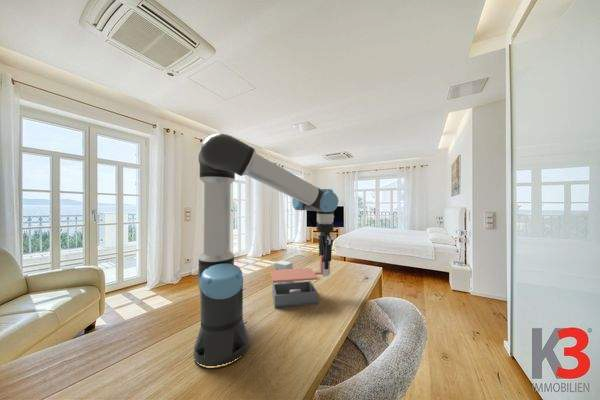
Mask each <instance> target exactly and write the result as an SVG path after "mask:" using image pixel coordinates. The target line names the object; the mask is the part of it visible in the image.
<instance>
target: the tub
mask: <svg viewBox="0 0 600 400" xmlns="http://www.w3.org/2000/svg"><path fill="white" fill-rule="evenodd" d="M272 299H273V307H274V309H278V308H279V309H280V308H289V307H298V306H309V305H316V304H317V305H318V290H317V289H316V287H315V285H314V284H313V283H312V280H304V281H293V282H291V283H281V284H280V283H272Z"/></svg>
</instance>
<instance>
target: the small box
mask: <svg viewBox="0 0 600 400" xmlns="http://www.w3.org/2000/svg"><path fill="white" fill-rule="evenodd" d="M282 269H294V268H293V262H291V261H285V260H278V261H276V262H274V270H282ZM293 282H294V281H289V282H275V284H281V283H293Z"/></svg>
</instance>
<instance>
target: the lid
mask: <svg viewBox="0 0 600 400" xmlns="http://www.w3.org/2000/svg"><path fill="white" fill-rule="evenodd" d="M322 260H324V257H323V255H320V256H319V271H313V269H312V268H311V267H304V268H303V267H302V268H301V267H299V268H293V269H282V270H275V269H271V270H270V274H271V281H272V284H275V283H276V282H289V281H293V282H305V281H317V280H319V277H318V275H321V276H323V262H322ZM330 268H331V261H329V275H330V274H331V269H330Z"/></svg>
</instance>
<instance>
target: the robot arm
mask: <svg viewBox="0 0 600 400" xmlns="http://www.w3.org/2000/svg"><path fill="white" fill-rule="evenodd" d="M198 164H199V179H200V181H201V182H202V183H203V184H204V185H203V188H204V189H203V190H204V191H203V193H204V194H203V200H204V201H203V253H202V254H201V255H200V256H199V257H198V270H197V271H198V272H197V276H196V277H197V278H196V279H197V283H198V288H199V297H200V298H199V300H200V328H199V330H198V333H197V337H196V339H195V343H194V347H193V360H194V359H195V360H194V362H195V361H196V362H198V363H199V364H202V365H205V366H217V365H222V364H226V363H229V362H232V361H234V360H235V359H237V358H239V357H240V356H242V355H243V354H244V353H245V352H246V353H247V351H248V349H249V345H250V344H249V343H250V339H249V337H250V336H249V333H248V330H247V327H246V324H245V321H244V318H243V317H244V315H243V314H244V312H243V311H244V309H243V308H244V307H243V306H244V293H243V292H244V289H243V288H244V287H243V286H244V285H243V284H244V276H243V271H242V269H241V268H240V267H239V266H237V265H235V254H234V253H233V252H232V251H231V250H230V248H231V247H230V245H231V243H230V242H231V184H232V183H233V182H234V181H236V179H235V178H236V175H238V176H240V177H243V176H246V177H249V178H251V179H253V180H255V181H258V182H260V183H262V184H263V185H265V186H268V187H270V188H272V189H274V190H276V191H278V192H280V193H283V194H284V195H286V196H288V197H290V198H292V201H291V202H292V207H293V209H294V210H295V211H301V212H302V211H310V212H311V211H312V212H316V231H317V232H319V233H320V234H319V235H318V238H317V239H318V257H320V255H323V257H324V260H322V262H323V275H322V276H323V277H329V276H330V274H329V261H330V262H332V252H333V251H332V250H333V249H332V247H333V239H331V238H332V237H331V234H330V233H333V232H334V218H335V215H334V213H335V212H334V211H335V210H336V209H337V208H338V206H339V205H338V204H339V197H338V196H337V194H336V193H335V192H334V190H333V189H331V188H320V187H317V186H315V185H313V184H312V183H310V182H308V181H306V180H304V179H303V178H301V177H299V176H297V175H295V174H294V173H292V172H290V171H288V170H287V169H285V168H283V167H281V166H280V165H277V164H276V163H274V162H272V161H270V160H268V158H265V157H263V156H261V155H259V154H258V153H257V152H256V149H255V148H253V147H252V146H250V145H248V144H247V143H245V142H244V141H241V140H239V139H237V138H235V137H233V136H231V135H229V134H225V133H214V134H211V135H209V136H208V137H206V138H205V140H204V141H203V142H202V144H201V146H200V150H199V154H198ZM246 353H245V354H246ZM245 354H244V355H245ZM244 355H243V356H244ZM243 356H242V357H243ZM196 362H195V363H196Z"/></svg>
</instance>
